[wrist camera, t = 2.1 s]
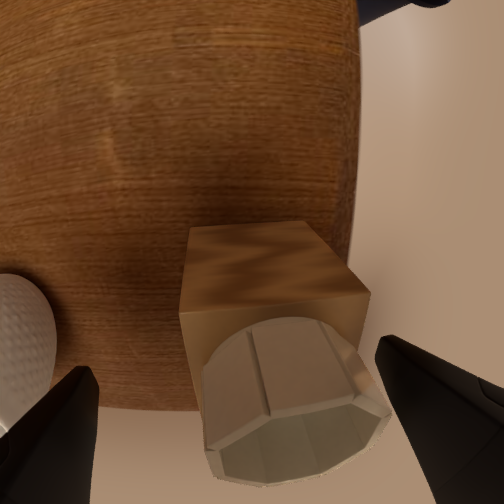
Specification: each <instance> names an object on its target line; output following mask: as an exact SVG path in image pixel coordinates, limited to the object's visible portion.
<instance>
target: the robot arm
mask: <svg viewBox="0 0 504 504" xmlns="http://www.w3.org/2000/svg"><path fill="white" fill-rule="evenodd" d="M375 363H376V365H377V368H378V371H379V373H380V376H381V378H382V381H383V384H384V386H385V390H386V392H387V395H388V397H389V400H390V402H391V404H392V406H393V408H394V410H395V412H396V414H397V416H398V418H399V420H400V422H401V425H402V427H403V429H404V431H405V433H406V435H407V437H408V439H409V442H410V444H411V446H412V448H413V450H414V452H415V455H416V457H417V459H418V461H419V464H420V466H421V468H422V470H423V473H424V475H425V477H426V479H427V482H428V484H429V486H430V489H431V491H432V493H433V496H434V499H435V501H436V504H504V388H501V387H499V386H496V385H494V384H492V383H490V382H488V381H486V380H484V379H482V378H480V377H477V376H475V375H473V374H471V373H469V372H467V371H465V370H463V369H461V368H459V367H457V366H455V365H453V364H451V363H449V362H447V361H445V360H443V359H441V358H439V357H437V356H435V355H433V354H431V353H428V352H427V351H425V350H423V349H421V348H419V347H417V346H415V345H413V344H411V343H409V342H407V341H405V340H403V339H401V338H399V337H397V336H394V335H387V336H383V337H381V338H380V340H379V343H378V348H377V351H376V354H375ZM98 403H99V385H98V383H97V381H96V379H95V377H94V375H93V373H92V370H91V369H90V368H89V367H88V366H76V367H75V368H74V369H73V370H71V371H70V372H69V373H68V374H67V375H66V376H65V377H64V378H63V379H62V380H61V381H59V382H58V383H57V384H56V385H55V386H54V387H53V388H52V389H51V390H50V391H49V392H48V393H47V394H46V395H44V396H43V397H42V398H41V399H40V400H39V401H38V402H37V403H36V404H35V405H34V406H33V407H32V408H31V409H30V410H29V411H28V412H26V413H25V414H24V415H23V416H22V417H21V418H20V419H19V420H18V421H17V422H16V423H15V424H14V425H13V426H12V427H11V428H10V429H9V430H8V432H6V433H5V434H4V435H3V436H2V437H1V438H0V504H90V503H89V502H90V489H91V477H92V468H93V459H94V451H95V443H96V436H97V422H98V421H97V420H98Z"/></svg>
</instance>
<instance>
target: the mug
mask: <svg viewBox="0 0 504 504" xmlns="http://www.w3.org/2000/svg"><path fill="white" fill-rule="evenodd" d="M56 336H57V332H56V326H55V320H54V315H53V312H52V309H51V307H50V305H49V303H48V301H47V299H46V297H45V296H44V294H43V293H42V292H41V291H40V290H39V289H38V288H37V287H36V286H35V285H34V284H33V283H32V282H30V281H29V280H27V279H25V278H23V277H21V276H18V275H14V274H0V438H1V437H2V436H3V435H4V434H5V433H6V432H8V430H9V429H10V428H11V427H12V426H13V425H14V424H15V423H16V422H17V421H18V420H19V419H20V418H21V417H22V416H23V415H24V414H25V413H26V412H28V411H29V410H30V409H31V408H32V407H33V406H34V405H35V404H36V403H37V402H38V401H39V400H40V399H41V398H42V397H43V396H44V395H46V394H47V393H48V390H49V387H50V384H51V379H52V375H53V370H54V365H55V355H56V349H57V348H56V344H57V337H56Z"/></svg>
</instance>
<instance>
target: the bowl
mask: <svg viewBox="0 0 504 504" xmlns="http://www.w3.org/2000/svg"><path fill="white" fill-rule="evenodd" d="M201 392H202V417H203V436H204V451H205V454H206V457H207V460H208V463H209V466H210V469H211V471H212V474H213V476H214V477H217V479H220V480H224V481H229V482H234V483H239V484H244V485H250V486H256V487H263V486H266V487H272V486H278V485H283V484H289V483H295V482H299V481H304V480H309V479H313V478H317V477H320V476H321V474H322V475H326V474H328V473H330V472H332V471H334V470H336V469H337V468H339V467H341V466H343V465H345V464H346V463H348V462H350V461H351V460H353V459H355V458H357V457H358V456H360V455H361V454H363V453H365V452H366V451H368V450H369V449H370V447H372V446H374V445H375V443H376V441H377V440H378V438H379V437H380V435H381V433H382V432H383V430H384V428H385V426H386V425H387V423H388V421H389V420H390V418H391V416H392V413H391V412H392V410H391V408H390V406H389V405H388V403H387V401H386V400H385V398H384V396H383V394H382V393H381V391H380V389H379V388H378V386H377V384H376V382H375V381H374V379H373V377H372V376H371V374H370V372H369V371H368V369H367V367H366V366H365V364H364V363H363V361H362V359H361V357H360V356H359V354H358V353H357V351H356V349H355V348H354V346H353V345H351V344H350V343H349V342H348V341H346V340H345V339H344V338H343V337H341V335H340V334H339V333H338V332H337V331H336V330H335V329H334V328H333V327H331V326H330V325H328V324H326V323H324V322H322V321H319V320H315V319H312V318H306V317H280V318H274V319H269V320H265V321H261V322H258V323H255V324H253V325H250V326H248V327H246V328H244V329H242V330H239V331H238V332H236V333H235V334H233V335H231V336H230V337H229V338H227V339H226V340H225V341H224V342H223V343H222V344H221V345H220V346H219V347H218V348H217V349H216V350H215V351H214V353H213V354H212V355H211V357H210V359H209V361H208V363H207V364H205V365H204V366H203V371H201Z"/></svg>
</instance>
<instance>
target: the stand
mask: <svg viewBox="0 0 504 504" xmlns="http://www.w3.org/2000/svg"><path fill="white" fill-rule="evenodd" d="M370 296H371V292H370V291H369V290H368V289H367V288H366V287H365V285H364V284H363V283H362V282H361V281H360V280H359V279H358V278H357V276H356V275H355V274H354V273H353V272H352V271H351V270H350V269H349V268H348V267H347V265H346V264H345V263H344V262H343V261H342V260H341V259H340V258H339V257H338V256H337V255H336V254H335V253H334V251H333V250H332V249H331V248H330V247H329V246H328V245H327V244H326V243H325V242H324V241H323V240H322V239H321V238H320V237H319V236H318V235H317V234H316V232H315V231H314V230H313V229H312V228H311V227H310V226H309V225H308V224H307V223H306V222H305V221H304V220H299V221H280V222H262V223H246V224H230V225H216V226H202V227H190V230H189V237H188V243H187V250H186V257H185V265H184V272H183V280H182V288H181V296H180V305H179V319H180V324H181V329H182V335H183V340H184V345H185V349H186V354H187V359H188V364H189V368H190V373H191V377H192V381H193V386H194V390H195V394H196V398H197V402H198V406H199V410H200V414H201V418H202V421H203V417H202V392H201V371H203V366H204V365H205V364H207V363H208V361H209V359H210V357H211V355H212V354H213V353H214V351H215V350H216V349H217V348H218V347H219V346H220V345H221V344H222V343H223V342H224V341H225V340H226V339H227V338H229V337H230V336H231V335H233V334H235V333H236V332H238V331H239V330H242V329H244V328H246V327H248V326H250V325H253V324H255V323H258V322H261V321H265V320H269V319H274V318H280V317H306V318H312V319H315V320H319V321H322V322H324V323H326V324H328V325H330V326H331V327H333V328H334V329H335V330H336V331H337V332H338V333H339V334H340V335H341V337H343V338H344V339H345V340H346V341H348V342H349V343H350V344H351V345H353V346H354V348H355V349H356V351H358V347H359V343H360V339H361V335H362V331H363V327H364V323H365V318H366V314H367V310H368V305H369V301H370Z"/></svg>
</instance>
